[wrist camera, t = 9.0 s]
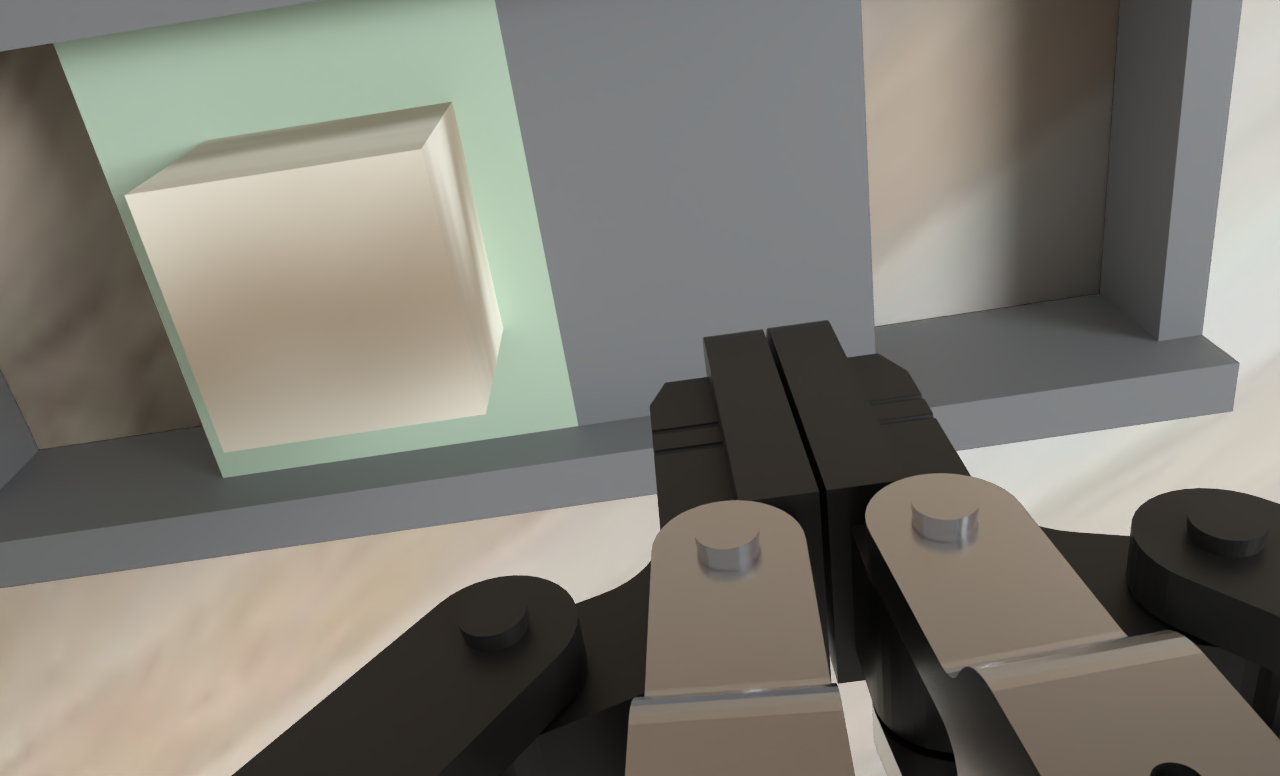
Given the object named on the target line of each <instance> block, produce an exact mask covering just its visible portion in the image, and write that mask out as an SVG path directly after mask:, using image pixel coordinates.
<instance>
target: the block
mask: <svg viewBox="0 0 1280 776" xmlns="http://www.w3.org/2000/svg"><path fill="white" fill-rule="evenodd" d="M125 198H126V201H127V203H128V206H129V208H130V211H131V214H132V216H133V219H134V221H135V224H136V227H137V229H138V232H139V234H140V237H141V239H142V242H143V245H144V247H145V250H146V252H147V255H148V258H149V260H150V263H151V265H152V268H153V271H154V273H155V276H156V278H157V281H158V283H159V286H160V289H161V291H162V294H163V296H164V299H165V302H166V304H167V307H168V309H169V312H170V315H171V317H172V320H173V322H174V325H175V327H176V330H177V333H178V335H179V338H180V340H181V343H182V346H183V348H184V351H185V353H186V356H187V359H188V361H189V364H190V366H191V369H192V371H193V374H194V377H195V379H196V382H197V384H198V387H199V390H200V392H201V395H202V397H203V400H204V403H205V405H206V408H207V410H208V413H209V415H210V418H211V421H212V423H213V426H214V428H215V431H216V434H217V436H218V439H219V441H220V444H221V447H222V449H223V452H224V453H225V452H232V451H239V450H246V449H253V448H259V447H266V446H273V445H280V444H287V443H293V442H300V441H307V440H314V439H320V438H327V437H334V436H341V435H348V434H354V433H361V432H368V431H375V430H382V429H388V428H395V427H402V426H409V425H416V424H422V423H429V422H436V421H443V420H450V419H456V418H463V417H470V416H477V415H484V414H486V411H487V406H488V401H489V396H490V391H491V387H492V382H493V377H494V372H495V367H496V362H497V357H498V352H499V348H500V343H501V338H502V333H503V325H502V321H501V317H500V312H499V308H498V303H497V299H496V294H495V290H494V285H493V281H492V277H491V272H490V268H489V263H488V259H487V254H486V250H485V245H484V241H483V237H482V232H481V228H480V223H479V219H478V214H477V210H476V205H475V201H474V197H473V192H472V188H471V183H470V179H469V174H468V170H467V165H466V161H465V157H464V152H463V148H462V143H461V139H460V134H459V130H458V125H457V121H456V117H455V112H454V108H453V103H452V102H446V103H440V104H434V105H427V106H421V107H415V108H408V109H402V110H395V111H389V112H383V113H376V114H370V115H363V116H357V117H351V118H344V119H338V120H331V121H325V122H319V123H312V124H306V125H300V126H293V127H287V128H280V129H274V130H268V131H261V132H255V133H248V134H242V135H236V136H229V137H223V138H217V139H210V140H207V141H205V142H204V143H202V144H201V145H199V146H198V147H196V148H195V149H193V150H192V151H190V152H189V153H187V154H186V155H184V156H183V157H181V158H180V159H178V160H177V161H175V162H174V163H172V164H171V165H169V166H168V167H166V168H165V169H163V170H162V171H160V172H159V173H157V174H156V175H154V176H153V177H151V178H150V179H148V180H147V181H145V182H144V183H142V184H140V185H139V186H137V187H136V188H134V189H133V190H131V191H130V192H128V193H127V194H125Z"/></svg>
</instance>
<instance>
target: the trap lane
mask: <svg viewBox="0 0 1280 776" xmlns="http://www.w3.org/2000/svg"><path fill="white" fill-rule="evenodd" d="M1241 8H1242V0H1120V6H1119V21H1118V35H1117V50H1116V64H1115V79H1114V94H1113V108H1112V123H1111V137H1110V152H1109V167H1108V181H1107V196H1106V210H1105V225H1104V239H1103V254H1102V269H1101V283H1100V294H1094V295H1087V296H1081V297H1074V298H1067V299H1060V300H1053V301H1047V302H1040V303H1033V304H1026V305H1020V306H1013V307H1006V308H999V309H992V310H986V311H979V312H972V313H965V314H959V315H952V316H945V317H938V318H931V319H925V320H918V321H911V322H904V323H898V324H891V325H884V326H877V327H874V305H873V281H872V257H871V232H870V208H869V184H868V160H867V136H866V111H865V87H864V63H863V39H862V15H861V0H0V51H7V50H13V49H19V48H26V47H32V46H38V45H44V44H51V43H53V44H54V47H55V50H56V52H57V55H58V57H59V60H60V62H61V65H62V67H63V70H64V73H65V75H66V78H67V80H68V83H69V85H70V88H71V90H72V93H73V96H74V98H75V101H76V103H77V106H78V108H79V111H80V113H81V116H82V119H83V121H84V124H85V126H86V129H87V131H88V134H89V136H90V139H91V142H92V144H93V147H94V149H95V152H96V154H97V157H98V159H99V162H100V165H101V167H102V170H103V172H104V175H105V177H106V180H107V182H108V185H109V188H110V190H111V193H112V195H113V198H114V200H115V203H116V205H117V208H118V211H119V213H120V216H121V218H122V221H123V223H124V226H125V228H126V231H127V234H128V236H129V239H130V241H131V244H132V246H133V249H134V251H135V254H136V257H137V259H138V262H139V264H140V267H141V269H142V272H143V274H144V277H145V280H146V282H147V285H148V287H149V290H150V292H151V295H152V297H153V300H154V303H155V305H156V308H157V310H158V313H159V315H160V318H161V320H162V323H163V326H164V328H165V331H166V333H167V336H168V338H169V341H170V343H171V346H172V349H173V351H174V354H175V356H176V359H177V361H178V364H179V366H180V369H181V372H182V374H183V377H184V379H185V382H186V384H187V387H188V389H189V392H190V395H191V397H192V400H193V402H194V405H195V407H196V410H197V412H198V415H199V418H200V420H201V423H202V425H203V426H200V427H193V428H186V429H179V430H173V431H166V432H159V433H152V434H146V435H139V436H132V437H125V438H119V439H112V440H105V441H98V442H91V443H85V444H78V445H71V446H64V447H58V448H51V449H44V450H39V449H38V447H37V445H36V443H35V441H34V439H33V437H32V435H31V433H30V431H29V429H28V427H27V424H26V422H25V420H24V418H23V416H22V414H21V412H20V410H19V408H18V406H17V404H16V402H15V400H14V398H13V395H12V393H11V391H10V389H9V387H8V385H7V383H6V381H5V379H4V377H3V375H2V373H1V371H0V588H6V587H13V586H20V585H27V584H34V583H41V582H48V581H55V580H62V579H68V578H75V577H82V576H89V575H96V574H103V573H110V572H117V571H124V570H131V569H138V568H145V567H152V566H159V565H166V564H173V563H180V562H187V561H194V560H201V559H208V558H215V557H222V556H229V555H235V554H242V553H249V552H256V551H263V550H270V549H277V548H284V547H291V546H298V545H305V544H312V543H319V542H326V541H333V540H340V539H347V538H354V537H361V536H368V535H375V534H382V533H389V532H396V531H402V530H409V529H416V528H423V527H430V526H437V525H444V524H451V523H458V522H465V521H472V520H479V519H486V518H493V517H500V516H507V515H514V514H521V513H528V512H535V511H542V510H549V509H556V508H563V507H569V506H576V505H583V504H590V503H597V502H604V501H611V500H618V499H625V498H632V497H639V496H646V495H653V494H657V485H656V473H655V462H654V451H653V440H652V428H651V417H650V405H651V403H652V402H653V400H654V399H655V397H656V396H657V394H658V393H659V391H660V390H661V388H662V387H663V385H664V383H666V382H673V381H681V380H688V379H695V378H703V377H707V375H706V366H705V358H704V349H703V337H709V336H716V335H723V334H730V333H738V332H745V331H752V330H759V329H763V331H764V333H765V336H766V330H767V328H772V327H780V326H787V325H794V324H801V323H809V322H816V321H823V320H828V321H829V322H830V324H831V326H832V328H833V330H834V332H835V334H836V336H837V338H838V340H839V342H840V344H841V346H842V348H843V350H844V352H845V354H846V356H847V357H855V356H862V355H869V354H876V353H878V354H880V355H882V356H883V357H885V358H887V359H888V360H890V361H892V362H894V363H895V364H897V365H899V366H900V367H902V368H904V369H905V370H907V371H908V372H909V374H910V376H911V377H912V379H913V381H914V382H915V384H916V386H917V387H918V389H919V391H920V392H921V394H922V399H925V401H926V402H927V404H928V406H929V407H930V409H931V411H932V412H933V417H934V418H936V419H937V421H938V422H939V424H940V426H941V427H942V429H943V431H944V432H945V434H946V436H947V437H948V439H949V440H950V442H951V444H952V445H953V447H954V449H955V450H956V451H959V450H966V449H973V448H980V447H987V446H994V445H1001V444H1008V443H1015V442H1022V441H1029V440H1036V439H1043V438H1050V437H1057V436H1064V435H1070V434H1077V433H1084V432H1091V431H1098V430H1105V429H1112V428H1119V427H1126V426H1133V425H1140V424H1147V423H1154V422H1161V421H1168V420H1175V419H1182V418H1189V417H1196V416H1203V415H1210V414H1217V413H1224V412H1231V411H1233V405H1234V398H1235V391H1236V384H1237V377H1238V369H1239V362H1238V361H1236V360H1235V359H1234V358H1232V357H1231V356H1230V355H1228V354H1227V353H1226V352H1224V351H1223V350H1222V349H1220V348H1219V347H1217V346H1216V345H1215V344H1213V343H1212V342H1211V341H1209V340H1208V339H1207V338H1205V337H1204V336H1203V335H1202V331H1203V323H1204V314H1205V306H1206V298H1207V290H1208V281H1209V273H1210V265H1211V256H1212V248H1213V240H1214V232H1215V223H1216V215H1217V207H1218V198H1219V190H1220V182H1221V173H1222V165H1223V157H1224V149H1225V140H1226V132H1227V124H1228V115H1229V107H1230V99H1231V91H1232V82H1233V74H1234V66H1235V57H1236V49H1237V41H1238V32H1239V24H1240V16H1241ZM446 102H452V103H453V108H454V112H455V117H456V121H457V125H458V130H459V134H460V139H461V143H462V148H463V152H464V157H465V161H466V165H467V170H468V174H469V179H470V183H471V188H472V192H473V197H474V201H475V205H476V210H477V214H478V219H479V223H480V228H481V232H482V237H483V241H484V245H485V250H486V254H487V259H488V263H489V268H490V272H491V277H492V281H493V285H494V290H495V294H496V299H497V303H498V308H499V312H500V317H501V321H502V325H503V333H502V338H501V343H500V348H499V352H498V357H497V362H496V367H495V372H494V377H493V382H492V387H491V391H490V396H489V401H488V406H487V411H486V414H484V415H477V416H470V417H463V418H456V419H450V420H443V421H436V422H429V423H422V424H416V425H409V426H402V427H395V428H388V429H382V430H375V431H368V432H361V433H354V434H348V435H341V436H334V437H327V438H320V439H314V440H307V441H300V442H293V443H287V444H280V445H273V446H266V447H259V448H253V449H246V450H239V451H232V452H225V453H224V452H223V449H222V447H221V444H220V441H219V439H218V436H217V434H216V431H215V428H214V426H213V423H212V421H211V418H210V415H209V413H208V410H207V408H206V405H205V403H204V400H203V397H202V395H201V392H200V390H199V387H198V384H197V382H196V379H195V377H194V374H193V371H192V369H191V366H190V364H189V361H188V359H187V356H186V353H185V351H184V348H183V346H182V343H181V340H180V338H179V335H178V333H177V330H176V327H175V325H174V322H173V320H172V317H171V315H170V312H169V309H168V307H167V304H166V302H165V299H164V296H163V294H162V291H161V289H160V286H159V283H158V281H157V278H156V276H155V273H154V271H153V268H152V265H151V263H150V260H149V258H148V255H147V252H146V250H145V247H144V245H143V242H142V239H141V237H140V234H139V232H138V229H137V227H136V224H135V221H134V219H133V216H132V214H131V211H130V208H129V206H128V203H127V201H126V198H125V194H127V193H128V192H130V191H131V190H133V189H134V188H136V187H137V186H139V185H140V184H142V183H144V182H145V181H147V180H148V179H150V178H151V177H153V176H154V175H156V174H157V173H159V172H160V171H162V170H163V169H165V168H166V167H168V166H169V165H171V164H172V163H174V162H175V161H177V160H178V159H180V158H181V157H183V156H184V155H186V154H187V153H189V152H190V151H192V150H193V149H195V148H196V147H198V146H199V145H201V144H202V143H204V142H205V141H207V140H210V139H217V138H223V137H229V136H236V135H242V134H248V133H255V132H261V131H268V130H274V129H280V128H287V127H293V126H300V125H306V124H312V123H319V122H325V121H331V120H338V119H344V118H351V117H357V116H363V115H370V114H376V113H383V112H389V111H395V110H402V109H408V108H415V107H421V106H427V105H434V104H440V103H446Z"/></svg>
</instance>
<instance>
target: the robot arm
mask: <svg viewBox="0 0 1280 776" xmlns="http://www.w3.org/2000/svg"><path fill="white" fill-rule="evenodd" d="M703 349H704V358H705V366H706V375H707V377H703V378H695V379H688V380H681V381H673V382H666V383H664V385H663V387H662V388H661V390H660V391H659V393H658V394H657V396H656V397H655V399H654V400H653V402H652V403H651V405H650V417H651V428H652V440H653V451H654V462H655V473H656V485H657V496H658V507H659V518H660V532H659V533H658V534H657V536H656V538H655V540H654V542H653V546H652V553H651V561H650V562H649V564H648V565H647V566H646V567H645V568H644V569H643V570H642V571H641V572H640V573H639V574H638V575H636V576H635V577H633V578H632V579H631V580H629V581H628V582H626V583H624V584H623V585H621V586H619V587H617V588H615V589H613V590H611V591H608V592H606V593H604V594H601V595H598V596H596V597H593V598H590V599H588V600H585V601H582V602H579V603H577V604H575V603H574V600H573V598H572V597H571V596H570V595H569V593H568V592H567V591H566V590H564V589H563V588H562V587H560V586H559V585H557V584H555V583H553V582H551V581H549V580H546V579H542V578H539V577H532V576H515V575H514V576H504V577H497V578H492V579H488V580H484V581H481V582H478V583H475V584H473V585H470V586H468V587H466V588H463V589H461V590H459V591H458V592H456V593H454V594H452V595H451V596H449V597H448V598H446V599H445V600H444V601H442V602H441V603H440V604H438V605H437V606H436V607H435V608H434V609H432V610H431V611H430V612H429V613H428V614H426V615H425V616H424V617H423V618H421V619H420V620H419V621H418V622H417V623H415V624H414V625H413V626H412V627H411V628H409V629H408V630H407V631H406V632H405V633H403V634H402V635H401V636H400V637H399V638H397V639H396V640H395V641H394V642H393V643H391V644H390V645H389V646H388V647H386V648H385V649H384V650H383V651H382V652H380V653H379V654H378V655H377V656H376V657H374V658H373V659H372V660H371V661H370V662H368V663H367V664H366V665H365V666H364V667H362V668H361V669H360V670H359V671H357V672H356V673H355V674H354V675H353V676H351V677H350V678H349V679H348V680H347V681H345V682H344V683H343V684H342V685H341V686H339V687H338V688H337V689H336V690H335V691H333V692H332V693H331V694H330V695H328V696H327V697H326V698H325V699H324V700H322V701H321V702H320V703H319V704H318V705H316V706H315V707H314V708H313V709H312V710H310V711H309V712H308V713H307V714H306V715H304V716H303V717H302V718H301V719H300V720H298V721H297V722H296V723H295V724H293V725H292V726H291V727H290V728H289V729H287V730H286V731H285V732H284V733H283V734H281V735H280V736H279V737H278V738H277V739H275V740H274V741H273V742H272V743H271V744H269V745H268V746H267V747H266V748H264V749H263V750H262V751H261V752H260V753H258V754H257V755H256V756H255V757H254V758H252V759H251V760H250V761H249V762H248V763H246V764H245V765H244V766H243V767H242V768H240V769H239V770H238V771H237V772H236V773H234V774H233V775H232V776H855V772H854V767H853V762H852V756H851V751H850V745H849V740H848V734H847V729H846V723H845V718H844V712H843V707H842V702H841V697H840V693H839V689H838V686H837V683H831V671H830V657H831V661H832V664H833V668H834V671H835V675H836V678H837V682H838V683H846V682H854V681H862V680H866V683H867V686H868V689H869V692H870V695H871V698H872V708H873V734H874V743H875V746H876V750H877V753H878V755H879V757H880V760H881V762H882V765H883V767H884V770H885V772H886V774H887V776H1280V504H1278V503H1275V502H1272V501H1269V500H1266V499H1263V498H1259V497H1256V496H1253V495H1249V494H1245V493H1240V492H1235V491H1230V490H1221V489H1206V488H1196V489H1183V490H1177V491H1171V492H1167V493H1164V494H1161V495H1158V496H1156V497H1154V498H1151V499H1149V500H1148V501H1146V502H1145V503H1144V504H1142V505H1141V506H1140V507H1139V508H1138V510H1137V511H1136V512H1135V514H1134V516H1133V519H1132V524H1131V533H1130V536H1120V535H1106V534H1092V533H1079V532H1069V531H1060V530H1054V529H1049V528H1044V527H1040V526H1038V524H1037V523H1036V522H1035V521H1034V519H1033V518H1032V517H1031V516H1030V514H1029V513H1028V512H1027V511H1026V509H1025V508H1024V507H1023V506H1022V504H1021V503H1020V502H1019V501H1018V500H1017V499H1016V498H1015V497H1014V496H1013V495H1012V494H1010V493H1009V492H1007V491H1006V490H1005V489H1003V488H1001V487H999V486H997V485H995V484H993V483H990V482H988V481H985V480H982V479H979V478H975V477H971V475H970V474H969V472H968V470H967V469H966V467H965V465H964V464H963V462H962V460H961V459H960V457H959V455H958V454H957V452H956V450H955V449H954V447H953V445H952V444H951V442H950V440H949V439H948V437H947V436H946V434H945V432H944V431H943V429H942V427H941V426H940V424H939V422H938V421H937V419H936V418H934V417H933V412H932V411H931V409H930V407H929V406H928V404H927V402H926V401H925V399H922V394H921V392H920V391H919V389H918V387H917V386H916V384H915V382H914V381H913V379H912V377H911V376H910V374H909V372H908V371H907V370H905V369H904V368H902V367H900V366H899V365H897V364H895V363H894V362H892V361H890V360H888V359H887V358H885V357H883V356H882V355H880V354H878V353H876V354H869V355H862V356H855V357H847V356H846V354H845V352H844V350H843V348H842V346H841V344H840V342H839V340H838V338H837V336H836V334H835V332H834V330H833V328H832V326H831V324H830V322H829V321H828V320H823V321H816V322H809V323H801V324H794V325H787V326H780V327H772V328H767V330H766V336H765V333H764V331H763V329H759V330H752V331H745V332H738V333H730V334H723V335H716V336H709V337H703ZM829 654H830V655H829Z"/></svg>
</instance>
